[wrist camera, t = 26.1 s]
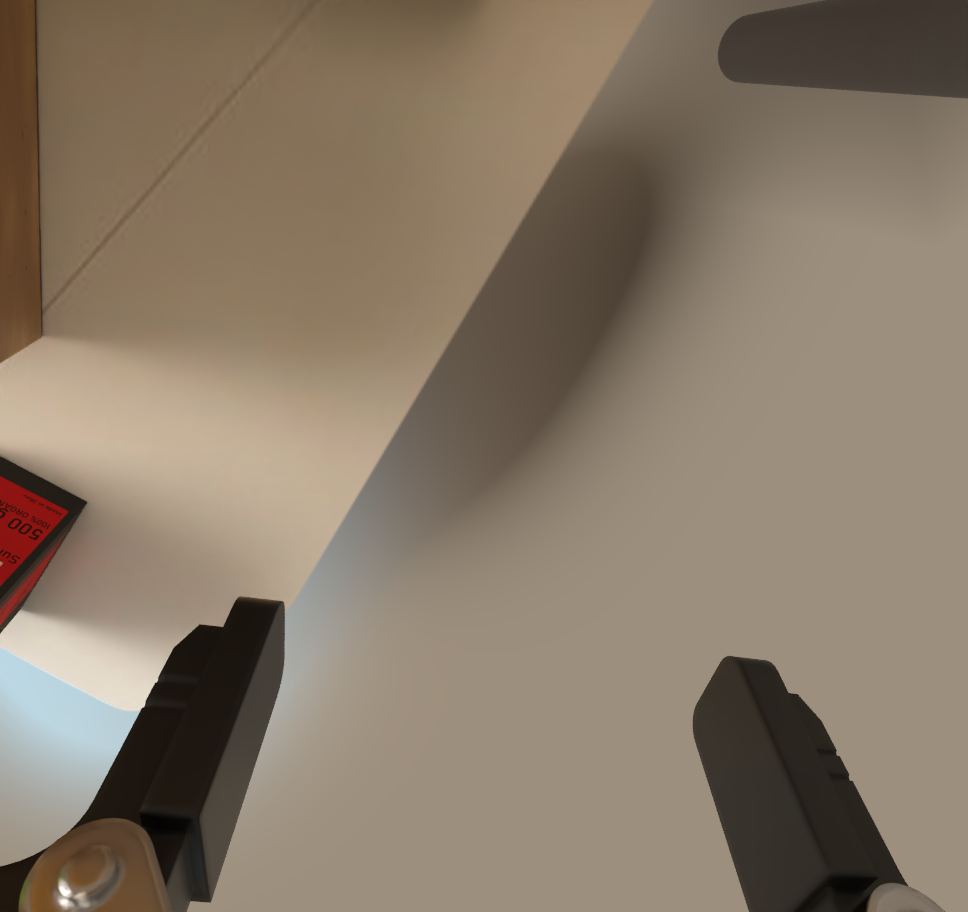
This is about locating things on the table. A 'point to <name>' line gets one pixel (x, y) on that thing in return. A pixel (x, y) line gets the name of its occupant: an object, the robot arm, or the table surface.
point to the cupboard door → (18, 180)
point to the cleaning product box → (29, 532)
